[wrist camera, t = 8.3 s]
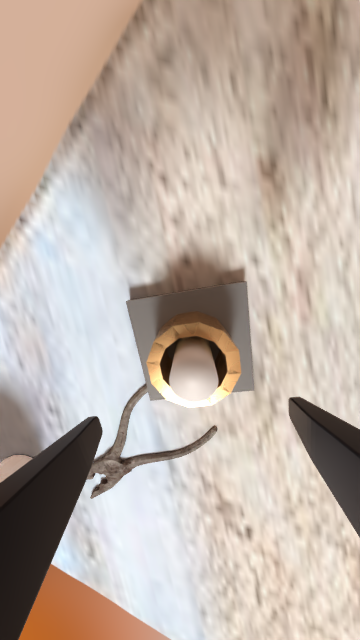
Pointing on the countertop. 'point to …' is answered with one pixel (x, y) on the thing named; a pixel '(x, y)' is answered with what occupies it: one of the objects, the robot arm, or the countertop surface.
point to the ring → (188, 327)
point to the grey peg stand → (194, 338)
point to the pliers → (119, 468)
